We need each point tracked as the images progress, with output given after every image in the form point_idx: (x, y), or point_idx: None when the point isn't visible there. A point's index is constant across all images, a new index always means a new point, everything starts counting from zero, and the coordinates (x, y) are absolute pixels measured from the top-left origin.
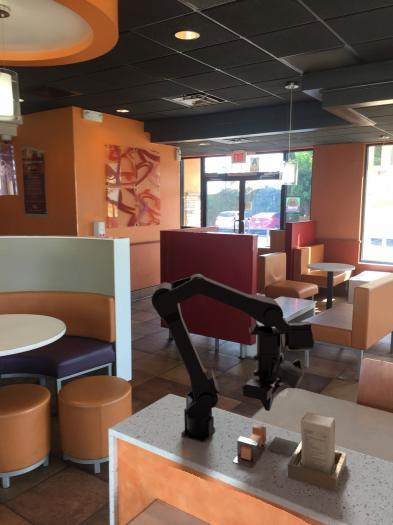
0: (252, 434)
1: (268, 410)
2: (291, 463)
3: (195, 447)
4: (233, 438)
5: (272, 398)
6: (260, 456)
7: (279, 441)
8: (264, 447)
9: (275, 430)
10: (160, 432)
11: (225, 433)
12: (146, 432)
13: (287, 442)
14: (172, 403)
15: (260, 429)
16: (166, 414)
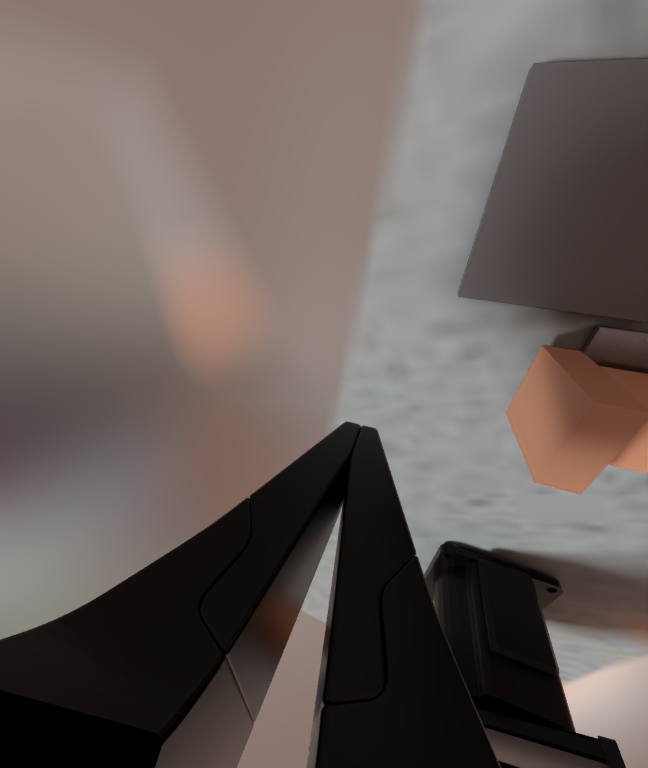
0: (624, 464)
1: (375, 436)
2: None
3: (604, 600)
4: (502, 488)
5: (309, 518)
6: None
7: (525, 252)
8: (617, 341)
9: (363, 311)
10: None
11: (461, 513)
12: None
13: (537, 178)
14: (324, 607)
15: (624, 439)
16: None
